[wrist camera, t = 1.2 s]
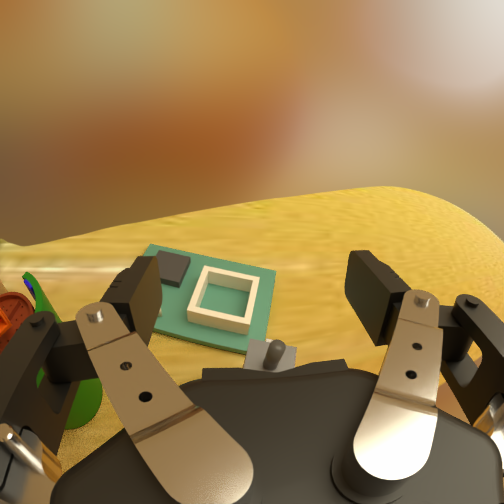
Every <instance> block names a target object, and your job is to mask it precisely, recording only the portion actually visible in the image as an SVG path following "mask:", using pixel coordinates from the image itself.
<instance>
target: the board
mask: <svg viewBox="0 0 504 504" xmlns="http://www.w3.org/2000/svg"><path fill="white" fill-rule="evenodd" d="M143 256H156V258H157V261H158V267H159V274H160V280H161V286H162V294H163V298H162V305H161V308H160V311H159V314H158V317H157V320H156V323H155V326H154V329H153V331H154V332H157V333H161V334H164V335H168V336H171V337H175V338H178V339H182V340H186V341H190V342H193V343H197V344H201V345H205V346H209V347H214V348H218V349H222V350H227V351H231V352H235V353H240V354H245V355H246V352H247V348H248V344H249V340H250V339H255V340H260V341H265V337H266V331H267V325H268V319H269V313H270V307H271V301H272V295H273V288H274V282H275V276H276V271H274V270H269V269H264V268H260V267H255V266H250V265H245V264H241V263H236V262H231V261H227V260H222V259H217V258H213V257H208V256H203V255H199V254H194V253H190V252H185V251H181V250H176V249H172V248H167V247H163V246H158V245H154V244H150V245H149V247H148V248H147V250H146V252H145V253H144V255H143Z"/></svg>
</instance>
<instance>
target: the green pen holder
mask: <svg viewBox="0 0 504 504" xmlns="http://www.w3.org/2000/svg"><path fill="white" fill-rule="evenodd" d="M22 278H23V279H24V283H25V285H26V286H27V288H28V290H29V291H30V293H31V295H32V296H33V298H34V300H35V301H36V308H35V309H34V307H33V306H32V304H31V302H30V301H29V300H28V298H27V297H26V296H24V295H23V294H21V293H17V292H8V293H4V294H1V295H0V354H1V353H2V351H3V350H4V348H5V347H6V345H7V344H8V342H9V341H10V339H11V338H12V337H13V335H14V334H15V332H16V331H17V330H18V328H19V327H20V325H21V324H22V323H23V321H24V320H25V319H26V318H27V317H29V316H30V315H32V314H34V313H36V312H39V311H50V312H52V313H53V314H54V315H55V318H56V320H57V323H61V322H62V321H61V320H60V318H59V317H58V315H57V313H56V312H55V310H54V309H53V307H52V305H51V304H50V302H49V300H48V299H47V297H46V295H45V294H44V292H43V290H42V288H41V287H40V285H39V283H38V281H37V280H36V279H35V277H34V276H33V275H31V274H30V273H28V272H26V273H25V274H24V275H23V276H22ZM44 374H45V373H44V371H43V370H42V368H41V369H40V371H39V372H38V375H37V379H36V383H37V388H38V387H39V384H40V382H41V380H42V378H43V376H44ZM101 400H102V383H101V381H100V379H99V378H96V379H89V380H82V381H81V383H80V385H79V388H78V391H77V393H76V396H75V399H74V402H73V405H72V408H71V410H70V413H69V416H68V420H67V423H66V426H65V429H75V428H79V427H81V426H83V425H85V424H86V423H88V422H89V421H90V420H91V419H92V418H93V417H94V416H95V414H96V413H97V411H98V409H99V407H100V404H101Z"/></svg>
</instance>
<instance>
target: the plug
mask: <svg viewBox="0 0 504 504" xmlns="http://www.w3.org/2000/svg"><path fill="white" fill-rule="evenodd" d="M296 349H297V347H292V346H286V345H285V344H284V342H282V341H281V340H271V339H266V341H260V340H255V339H250V340H249V344H248V348H247V352H246V357H245V361H244V365H243V368H244V369H251V370H259V371H266V372H281V371H285V370H288V369H292V368H295V358H296Z"/></svg>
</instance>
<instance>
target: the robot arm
mask: <svg viewBox="0 0 504 504" xmlns="http://www.w3.org/2000/svg"><path fill="white" fill-rule="evenodd" d="M4 293H8V292H7V290H6V288H5V287H4V285H3V284H2V282H1V280H0V295H1V294H4ZM345 295H346V298H347V299H348V301H349V303H350V304H351V306H352V308H353V309H354V311H355V312H356V314H357V316H358V317H359V319H360V321H361V322H362V324H363V326H364V327H365V329H366V331H367V333H368V334H369V336H370V338H371V339H372V341H373V343H374V345H375V346H381V345H388V349H387V352H386V355H385V357H384V360H383V363H382V366H381V369H380V371H379V374H378V375H376V374H373V373H370V372H367V371H363V370H359V369H351V368H348V367H347V364H346V362H345V360H344V359H338V360H330V361H322V362H313V363H309V364H305V365H302V366H299V367H295V368H292V369H288V370H285V371H281V372H266V371H259V370H251V369H244V368H203V370H202V379H197V380H194V381H190V382H187V383H185V384H182V385H180V386H178V385H177V384H176V383H175V382H174V381H173V379H172V378H171V377H170V376H169V374H168V373H167V372H166V371H165V369H164V368H163V367H162V366H161V364H160V363H159V362H158V361H157V359H156V358H155V357H154V355H153V354H152V353H151V351H150V350H149V349H148V344H149V341H150V338H151V335H152V332H153V329H154V326H155V323H156V320H157V317H158V314H159V311H160V308H161V305H162V298H163V294H162V286H161V280H160V274H159V267H158V261H157V258H156V256H138V257H137V258H136V260H135V261H134V263H133V264H132V266H131V267H130V268H126V269H124V270H123V271H122V272H120V273H119V274H118V275H117V276H116V277H115V279H114V280H113V282H112V283H111V285H110V288H108V289H107V291H106V292H105V294H104V295H103V297H102V299H101V300H100V302H96V303H92V304H89V305H86V306H84V307H83V308H81V309H80V310H79V311H78V313H77V314H76V320H73V321H67V322H61V323H57V320H56V318H55V315H54V314H53V313H52V312H50V311H39V312H36V313H34V314H32V315H30V316H29V317H27V318H26V319H25V320H24V321H23V323H22V324H21V325H20V327H19V328H18V330H17V331H16V332H15V334H14V335H13V337H12V338H11V339H10V341H9V342H8V344H7V345H6V347H5V348H4V350H3V351H2V353H1V354H0V504H504V488H503V477H504V323H503V322H502V321H501V320H500V319H499V318H498V317H497V316H496V315H495V314H494V313H493V312H492V311H491V310H490V309H489V308H488V307H487V306H486V305H485V304H484V303H483V302H482V301H481V300H480V299H478V298H476V297H474V296H472V295H467V294H462V295H459V296H457V298H456V301H455V303H454V306H443V305H439V301H438V299H437V298H436V297H435V296H434V295H432V294H431V293H429V292H426V291H423V290H412V289H411V288H410V287H409V286H408V285H407V284H406V283H405V282H404V281H403V280H402V279H401V278H399V276H398V275H397V274H396V273H395V272H394V271H393V270H392V269H391V268H390V267H389V266H388V265H386V264H385V263H383V262H381V261H379V260H378V259H377V258H376V257H375V256H374V255H373V254H372V253H371V252H370V251H369V250H358V251H351V252H350V254H349V259H348V266H347V273H346V279H345ZM473 340H474V342H475V343H476V344H477V345H478V347H479V348H480V349H481V351H482V362H481V364H480V366H479V368H478V367H477V366H476V365H475V363H474V362H473V360H472V359H471V358H470V356H469V355H468V353H467V352H468V350H469V348H470V346H471V344H472V342H473ZM41 368H42V370H43V371H44V373H45V374H44V376H43V378H42V380H41V382H40V384H39V387H38V388H37V383H36V379H37V375H38V372H39V371H40V369H41ZM440 372H441V373H442V375H443V377H444V378H445V380H446V382H447V383H448V385H449V387H450V388H451V390H452V392H453V393H454V395H455V397H456V398H457V400H458V402H459V404H460V406H461V408H462V409H463V411H464V413H465V415H466V417H467V418H468V420H469V422H470V424H471V425H469V424H467V423H466V422H463V421H462V420H460V419H458V418H456V417H454V416H452V415H450V414H448V413H446V412H444V411H442V410H441V409H439V408H437V407H436V405H435V402H436V396H437V389H438V382H439V374H440ZM96 378H99V379H100V381H101V383H102V385H103V387H104V389H105V391H106V394H107V396H108V398H109V400H110V401H111V403H112V405H113V407H114V409H115V411H116V413H117V415H118V417H119V418H120V420H121V422H122V424H123V426H124V428H123V429H122V430H121V431H119V432H118V433H117V434H116V435H114V436H113V437H112V438H110V439H109V440H108V441H107V442H105V443H104V444H103V445H101V446H100V447H99V448H97V449H96V450H95V451H93V452H92V453H91V454H89V455H88V456H87V457H85V458H84V459H83V460H81V461H80V462H79V463H77V464H76V465H75V466H73V467H72V468H70V469H69V470H68V471H66V472H65V473H64V474H63V475H62V467H61V463H60V461H59V460H58V458H57V457H56V456H57V452H58V449H59V445H60V442H61V439H62V435H63V432H64V429H65V426H66V423H67V420H68V416H69V413H70V410H71V408H72V405H73V402H74V399H75V396H76V393H77V391H78V388H79V385H80V383H81V381H82V380H89V379H96ZM61 475H62V476H61Z"/></svg>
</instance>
